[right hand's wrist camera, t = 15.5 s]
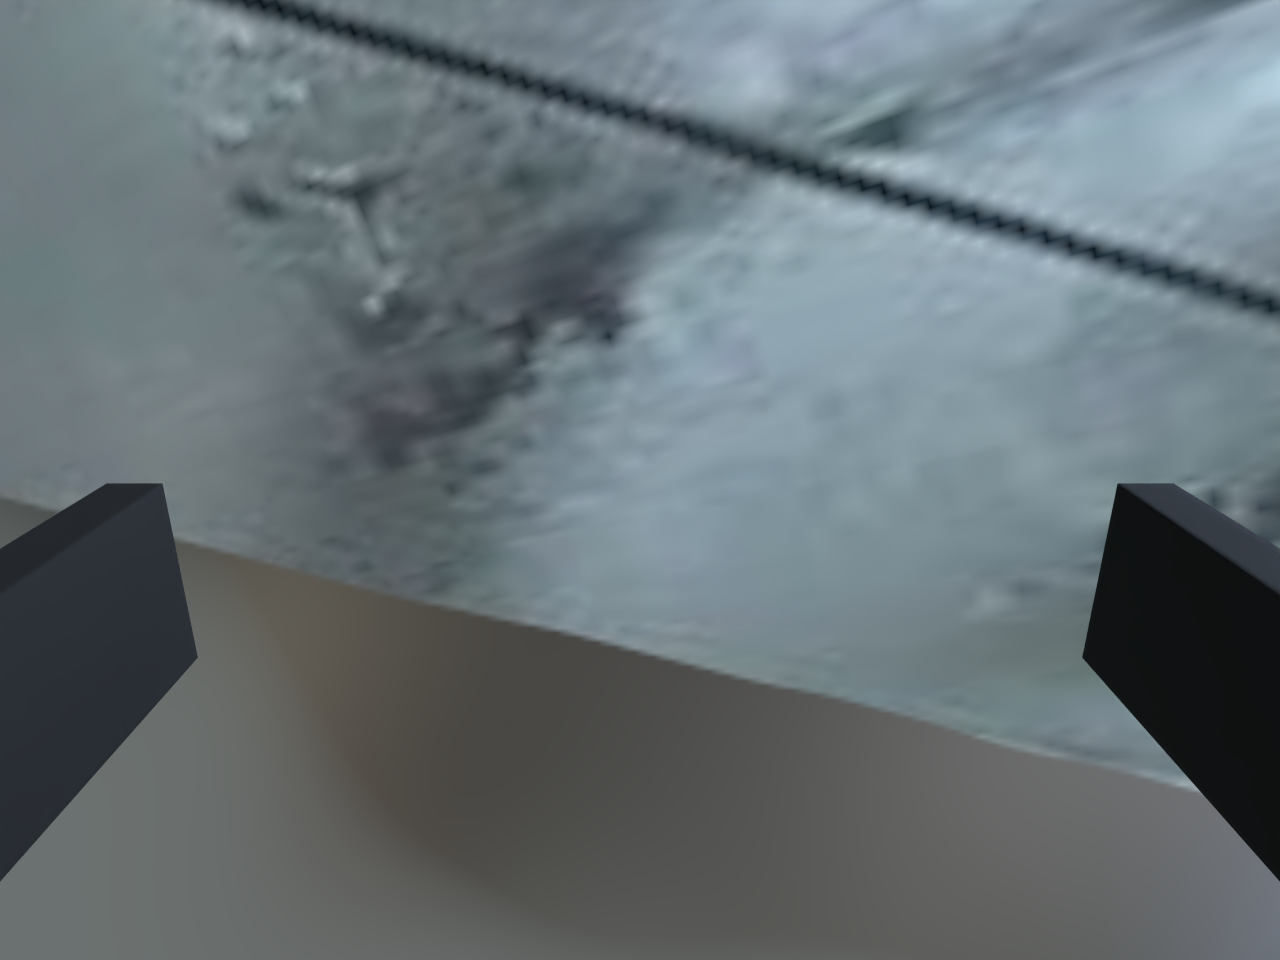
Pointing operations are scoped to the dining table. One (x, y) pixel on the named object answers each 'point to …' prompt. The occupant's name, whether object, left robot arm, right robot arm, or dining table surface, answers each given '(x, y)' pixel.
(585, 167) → the dining table surface
